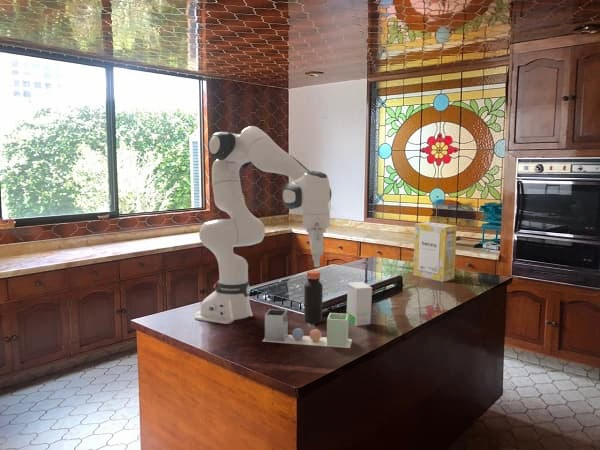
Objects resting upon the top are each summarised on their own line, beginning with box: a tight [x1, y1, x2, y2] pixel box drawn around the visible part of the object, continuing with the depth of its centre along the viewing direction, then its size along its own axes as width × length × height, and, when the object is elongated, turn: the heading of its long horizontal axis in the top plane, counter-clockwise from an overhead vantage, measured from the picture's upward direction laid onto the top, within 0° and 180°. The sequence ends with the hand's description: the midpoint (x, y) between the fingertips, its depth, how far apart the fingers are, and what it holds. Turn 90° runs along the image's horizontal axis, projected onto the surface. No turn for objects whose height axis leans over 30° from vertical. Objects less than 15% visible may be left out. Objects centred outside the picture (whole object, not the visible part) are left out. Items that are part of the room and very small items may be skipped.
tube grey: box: [264, 308, 289, 343], centre depth 162 cm, size 6×6×9 cm
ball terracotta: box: [309, 328, 322, 341], centre depth 159 cm, size 4×4×4 cm
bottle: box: [303, 270, 324, 324], centre depth 179 cm, size 7×7×20 cm
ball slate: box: [291, 327, 305, 340], centre depth 161 cm, size 4×4×4 cm
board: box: [262, 334, 353, 349], centre depth 160 cm, size 30×8×1 cm, turn 79°
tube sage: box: [326, 312, 349, 348], centre depth 158 cm, size 6×6×9 cm
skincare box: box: [345, 281, 373, 327], centre depth 178 cm, size 8×7×16 cm
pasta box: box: [412, 221, 458, 283], centre depth 249 cm, size 18×10×28 cm, turn 41°
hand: (315, 263), depth 156 cm, fingers open, 8 cm apart
